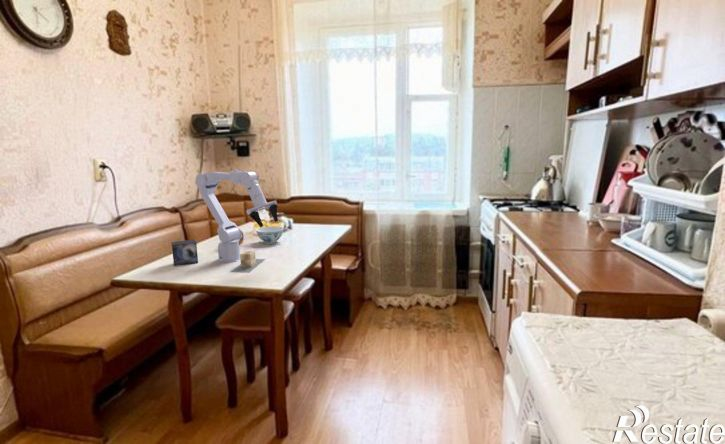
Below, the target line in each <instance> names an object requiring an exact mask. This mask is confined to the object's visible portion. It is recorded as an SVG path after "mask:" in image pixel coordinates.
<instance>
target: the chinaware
mask: <svg viewBox="0 0 725 444" xmlns="http://www.w3.org/2000/svg"><path fill="white" fill-rule="evenodd" d="M255 231H256V233H257V236H258V237H259V239H260V240H261V241H263V242H264V244H268V245H272V244H277V242H278V240H279V239H281V237H282V236H283V233H284V227H282V226H276V225H275V226H273V225H271V226H263V227H261V228H260V227H258V228H256V229H255Z"/></svg>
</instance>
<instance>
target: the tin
mask: <svg viewBox="0 0 725 444" xmlns="http://www.w3.org/2000/svg"><path fill="white" fill-rule="evenodd" d="M241 232H242V236H241V238H240V240H239V246H241V245H242V244H243V242H244V232H243V231H242V230H241Z"/></svg>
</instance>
